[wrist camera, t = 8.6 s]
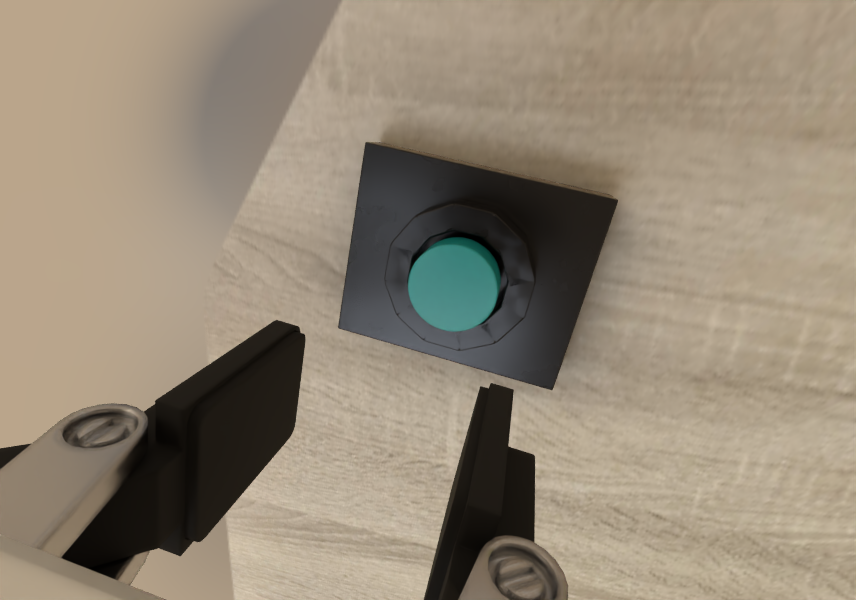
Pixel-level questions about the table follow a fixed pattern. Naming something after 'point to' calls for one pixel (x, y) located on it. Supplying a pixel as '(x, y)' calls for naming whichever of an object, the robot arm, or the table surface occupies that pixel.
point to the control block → (491, 227)
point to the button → (454, 284)
